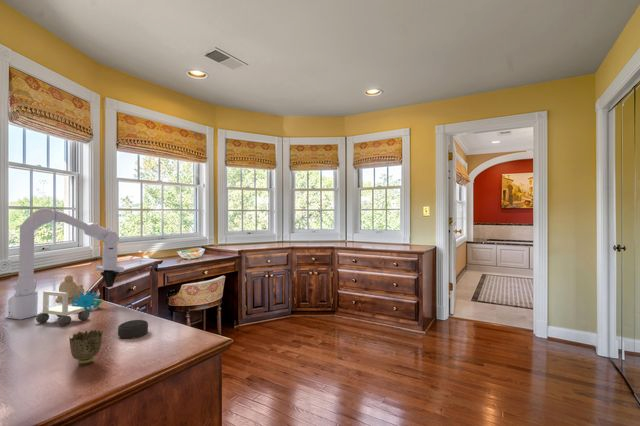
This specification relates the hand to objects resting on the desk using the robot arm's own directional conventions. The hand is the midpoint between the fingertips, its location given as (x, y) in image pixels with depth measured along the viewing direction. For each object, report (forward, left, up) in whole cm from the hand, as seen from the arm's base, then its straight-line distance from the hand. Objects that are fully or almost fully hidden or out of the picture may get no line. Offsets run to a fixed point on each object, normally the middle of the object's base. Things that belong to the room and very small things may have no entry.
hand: (109, 286), depth 149 cm
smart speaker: (+43, -27, -8) cm, 52 cm away
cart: (+6, -24, -8) cm, 26 cm away
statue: (-25, 0, -8) cm, 26 cm away
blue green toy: (0, -10, -8) cm, 13 cm away
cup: (+49, -48, -8) cm, 69 cm away
